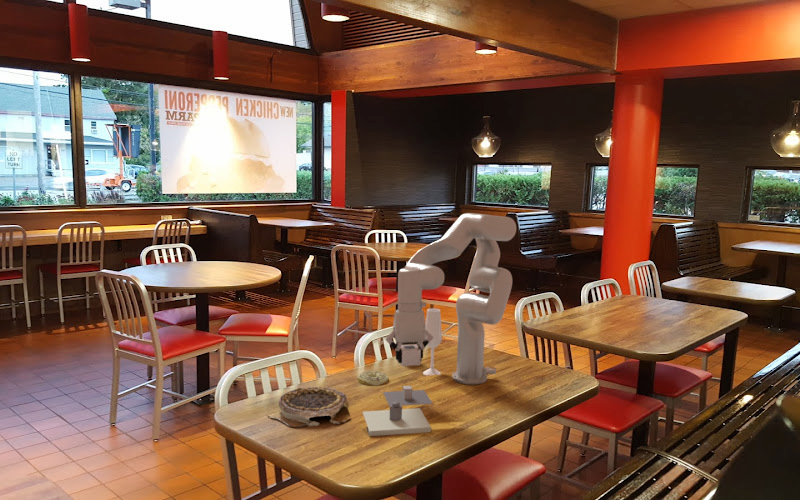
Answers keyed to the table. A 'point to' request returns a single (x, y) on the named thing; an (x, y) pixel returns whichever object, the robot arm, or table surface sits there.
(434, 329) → the champagne flute
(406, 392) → the rod stand
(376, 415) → the hub plate
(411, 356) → the collar
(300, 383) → the table surface
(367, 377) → the decorated donut
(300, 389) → the pie
